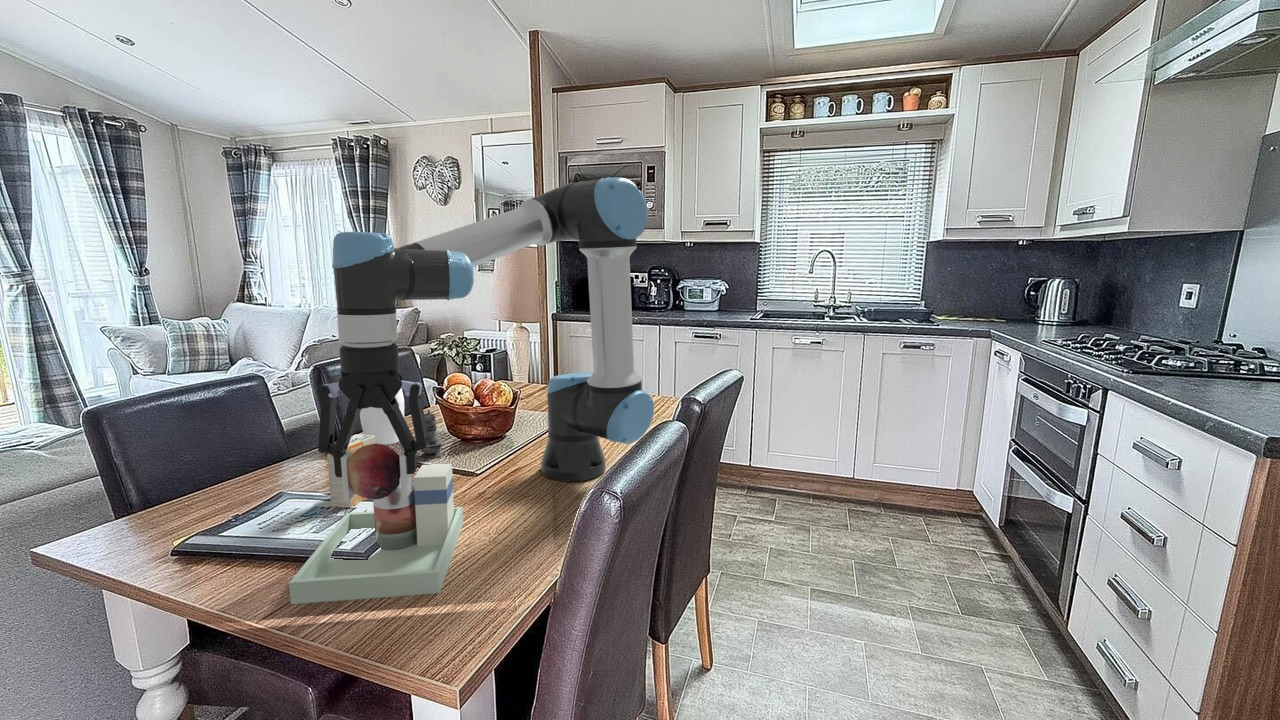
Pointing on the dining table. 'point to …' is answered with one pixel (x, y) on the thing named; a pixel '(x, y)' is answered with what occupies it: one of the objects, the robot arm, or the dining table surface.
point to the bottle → (380, 422)
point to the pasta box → (433, 503)
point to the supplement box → (336, 482)
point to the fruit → (374, 471)
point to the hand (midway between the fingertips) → (378, 495)
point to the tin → (396, 520)
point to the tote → (373, 567)
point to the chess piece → (431, 438)
